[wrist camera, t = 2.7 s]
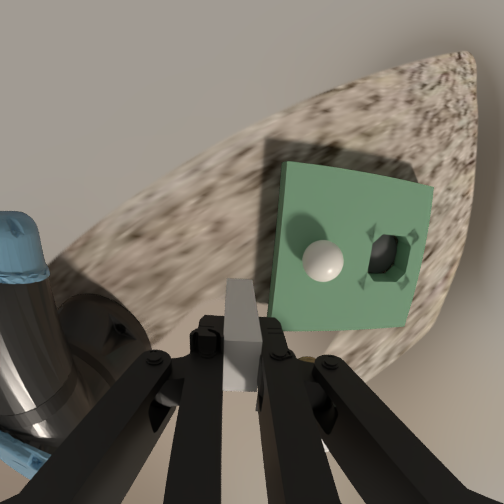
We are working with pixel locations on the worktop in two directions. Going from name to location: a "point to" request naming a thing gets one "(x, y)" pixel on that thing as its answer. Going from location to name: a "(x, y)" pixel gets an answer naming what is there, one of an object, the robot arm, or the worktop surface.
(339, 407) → the robot arm
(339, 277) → the putting board
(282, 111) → the worktop surface
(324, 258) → the ball
